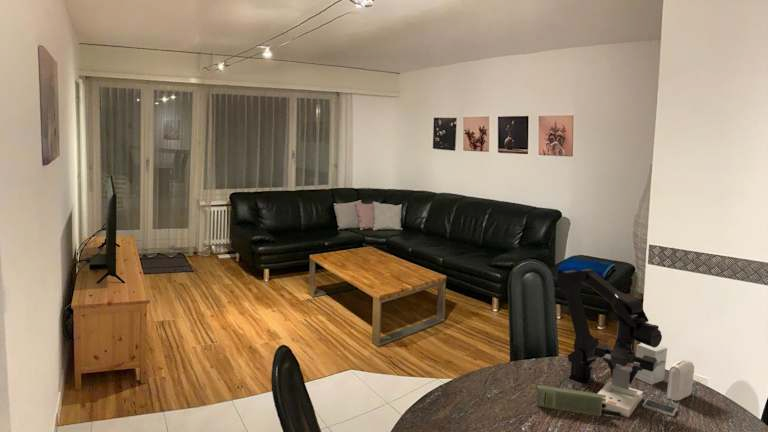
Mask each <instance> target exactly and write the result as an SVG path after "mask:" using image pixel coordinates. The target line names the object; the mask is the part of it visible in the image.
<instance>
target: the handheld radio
mask: <svg viewBox="0 0 768 432" xmlns="http://www.w3.org/2000/svg"><path fill="white" fill-rule="evenodd" d="M605 398H606V395H602V394H598V393H595V392H589V391H587V392H586V391H582V390H574V389H569V388H568V389H567V388H560V387H554V386H547V385H539V384H537V394H536V406H538V407H539V408H540V407H542V408H547V409H552V410H553V409H554V410H559V411H560V410H561V411H566V412H573V413H578V414H584V415H591V416H597V417H601V416H602V415H603V416H605V415H607V416H609V415H610V416H613V417H620V418H621V417H622V415H621V413H620V412H615V411H608V410H605V409H602V408H605V407H606V405H605V404H603V403H602V401H606V399H605Z"/></svg>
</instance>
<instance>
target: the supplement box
mask: <svg viewBox="0 0 768 432" xmlns="http://www.w3.org/2000/svg"><path fill="white" fill-rule="evenodd" d="M667 353H668V347H666V346H663V345H660V344H659V345H658V346H657V347H655V348H653V347H651V346H648V345H646V344H643V343H638V344H636V350H635V356H636V357H640V358H642V357H643V356H644V355H646V356H650V357H654V358H656V359H657V367H656V368H655V369H654V371H648V370H644V369H643V370H642V371H640V370H639V371H638V372H637V374H636V376H635V378H634V379H638V380H640V381H642V382H644V383H646V384H649V385H651V386H653V385H654V384H657V383H659V382H663V381H665V373H666V363H667Z"/></svg>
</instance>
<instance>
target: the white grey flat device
mask: <svg viewBox="0 0 768 432" xmlns="http://www.w3.org/2000/svg"><path fill="white" fill-rule="evenodd" d="M643 393H644V391H642V390H639V389H635V388H632V387H629V389H628V390H627V389H624V388H621V387H617V386H614V385H612V381H610V380H608V381H607V382H606V383H605V385H604V386H603V387H602V388H601V389H600V390H599V391H598V392H597V394H602V395H606V398H605V399H606V401H602V403H603V404H605V405H606V407H605V408H602V410H606V411H607V410H608V411H615V412H620V413H621V416H623V417H626V418H630V416H631V415H632V414H633V413H634V410H635V409H636V408H637V406H638V405H639V404H640V402H641V401H642V399H643Z"/></svg>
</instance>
